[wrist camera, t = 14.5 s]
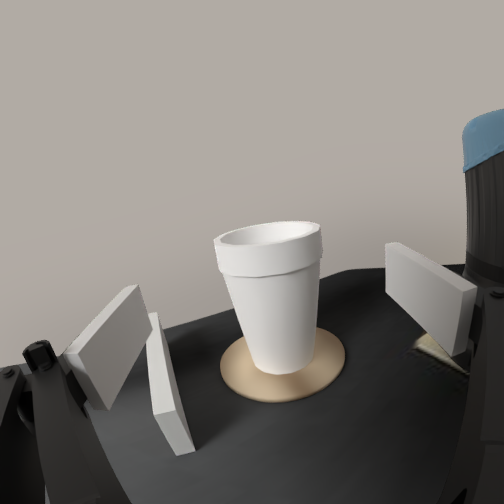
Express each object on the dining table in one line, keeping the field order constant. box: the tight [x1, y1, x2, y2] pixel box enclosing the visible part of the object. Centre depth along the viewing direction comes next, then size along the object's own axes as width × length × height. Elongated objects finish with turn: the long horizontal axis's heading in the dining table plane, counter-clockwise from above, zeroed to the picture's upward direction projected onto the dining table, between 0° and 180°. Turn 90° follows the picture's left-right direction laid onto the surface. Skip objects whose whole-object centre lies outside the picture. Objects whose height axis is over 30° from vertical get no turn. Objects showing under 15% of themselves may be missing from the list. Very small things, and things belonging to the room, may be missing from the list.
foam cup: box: [214, 221, 323, 375], centre depth 27 cm, size 10×9×13 cm
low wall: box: [146, 312, 196, 456], centre depth 25 cm, size 2×18×5 cm, turn 22°
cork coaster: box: [220, 327, 345, 403], centre depth 29 cm, size 13×13×1 cm
